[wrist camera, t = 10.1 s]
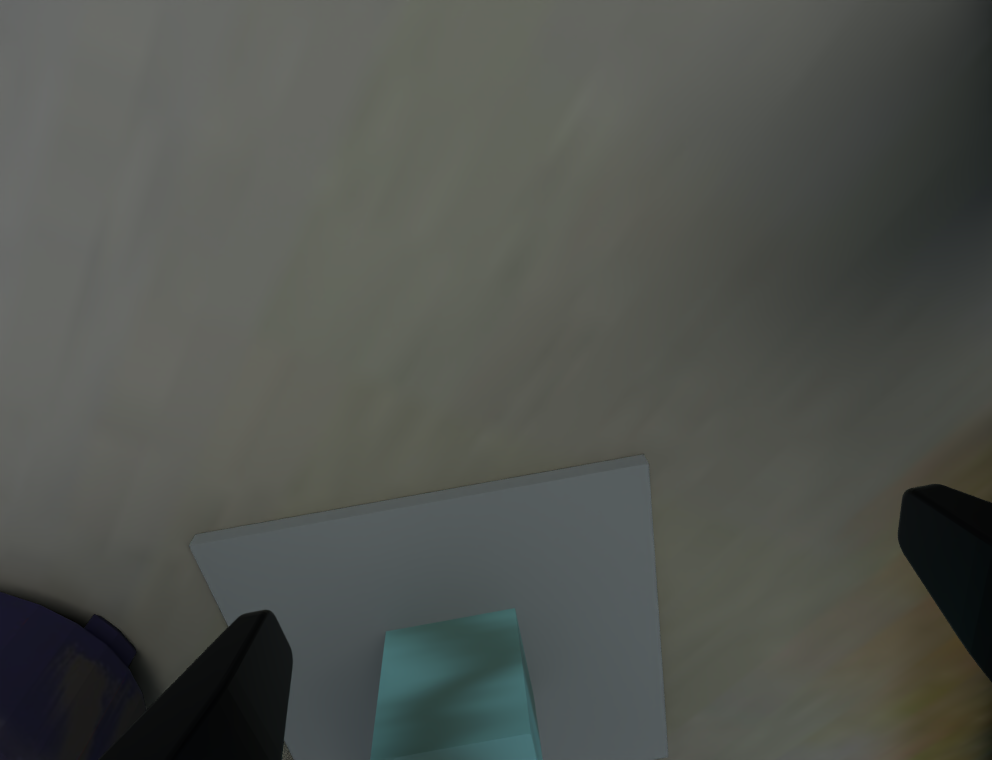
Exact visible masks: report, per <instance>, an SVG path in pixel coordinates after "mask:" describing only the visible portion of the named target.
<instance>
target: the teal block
mask: <svg viewBox="0 0 992 760" xmlns="http://www.w3.org/2000/svg"><path fill="white" fill-rule="evenodd" d="M370 760H543V758H542V751H541V744H540V737H539V730H538V723H537V715H536V708H535V701H534V695H533V690H532V685H531V681H530V676H529V671H528V667H527V662H526V657H525V652H524V648H523V643H522V638H521V634H520V629H519V624H518V620H517V615H516V610H515V608H512V609H507V610H501V611H496V612H490V613H485V614H479V615H474V616H468V617H463V618H457V619H452V620H446V621H441V622H435V623H430V624H424V625H419V626H413V627H408V628H402V629H397V630H391V631H386V635H385V643H384V651H383V659H382V667H381V675H380V684H379V692H378V700H377V708H376V716H375V724H374V732H373V741H372V749H371V757H370Z"/></svg>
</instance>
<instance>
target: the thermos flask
mask: <svg viewBox="0 0 992 760" xmlns="http://www.w3.org/2000/svg"><path fill="white" fill-rule="evenodd" d="M135 654H136V650H135V648H134V646H133V645H132V644H131V643H130V642H129V641H128V640H127V639H126V638H125V636H124V635H123V634H122V633H121V632H120V631H119V630H118V629H117V628H116V627H114V626H113V625H112V624H110V623H109V622H108V621H106V620H105V619H104V618H102V617H101V616H98V615H95V614H94V615H93V616H92V618H91V619H90V620H89V622H88V623H87V625H86V626H85V628H82V627H81V626H80V625H78V624H77V623H75V622H73V621H71V620H69V619H67V618H65V617H63V616H61V615H59V614H57V613H55V612H53V611H51V610H49V609H47V608H45V607H43V606H41V605H39V604H36V603H33V602H30V601H27V600H23V599H20V598H17V597H14V596H11V595H8V594H5V593H2V592H0V760H98V759H99V758H100V757H101V756H102V755H103V754H104V753H105V752H106V751H107V750H108V749H109V748H110V747H111V746H112V745H113V744H114V743H115V742H116V741H117V740H118V739H119V738H120V737H121V736H122V735H123V734H124V733H125V732H126V731H127V730H128V729H129V728H130V727H131V726H132V725H133V724H134V722H135V721H136V720H137V719H138V718H139V717H140V716H141V715H142V714H143V713H144V712H145V711H146V707H145V702H144V697H143V693H142V692H141V690H140V688H139V686H138V684H137V683H136V681H135V679H134V677H133V675H132V674H131V672H130V670H129V669H128V666H129V665H130V663H131V661H132V659H133V658H134V656H135Z"/></svg>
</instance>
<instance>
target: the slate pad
mask: <svg viewBox="0 0 992 760" xmlns="http://www.w3.org/2000/svg"><path fill="white" fill-rule="evenodd" d="M189 547H190V549H191V551H192V553H193V555H194V557H195V560H196V562H197V564H198V566H199V568H200V570H201V572H202V574H203V576H204V578H205V580H206V582H207V584H208V586H209V588H210V590H211V592H212V594H213V596H214V598H215V600H216V602H217V604H218V606H219V608H220V610H221V612H222V615H223V617H224V619H225V621H226V623H227V625H228V627H229V626H230V625H231V624H232V623H233V622H234V621H235V620H236V619H237V618H238V617H239V616H240V615H242V614H245V613H249V612H255V611H260V610H270V611H272V612H273V613H274V615H275V616H276V618H277V620H278V622H279V624H280V626H281V628H282V630H283V632H284V634H285V636H286V638H287V640H288V642H289V644H290V647H291V650H292V654H293V669H292V677H291V686H290V694H289V702H288V711H287V719H286V727H285V736H284V741H285V743H286V745H287V747H288V749H289V751H290V753H291V755H292V757H293V759H294V760H370V757H371V749H372V741H373V732H374V724H375V716H376V708H377V700H378V692H379V684H380V675H381V667H382V659H383V651H384V643H385V635H386V631H391V630H397V629H402V628H408V627H413V626H419V625H424V624H430V623H435V622H441V621H446V620H452V619H457V618H463V617H468V616H474V615H479V614H485V613H490V612H496V611H501V610H507V609H512V608H515V610H516V615H517V620H518V624H519V629H520V634H521V638H522V643H523V648H524V652H525V657H526V662H527V667H528V671H529V676H530V681H531V685H532V690H533V695H534V701H535V708H536V715H537V723H538V730H539V737H540V744H541V751H542V758H543V760H654V759H660V758H666V757H668V744H667V729H666V714H665V699H664V684H663V669H662V654H661V639H660V624H659V609H658V595H657V580H656V565H655V550H654V535H653V520H652V505H651V490H650V475H649V463H648V461H647V460H646V458H645V456H644V454H642V455H637V456H631V457H626V458H620V459H614V460H609V461H603V462H598V463H592V464H587V465H581V466H575V467H570V468H564V469H559V470H553V471H547V472H542V473H536V474H531V475H525V476H519V477H514V478H508V479H503V480H497V481H492V482H486V483H480V484H475V485H469V486H464V487H458V488H452V489H447V490H441V491H436V492H430V493H424V494H419V495H413V496H408V497H402V498H396V499H391V500H385V501H380V502H374V503H369V504H363V505H357V506H352V507H346V508H341V509H335V510H329V511H324V512H318V513H313V514H307V515H301V516H296V517H290V518H285V519H279V520H273V521H268V522H262V523H257V524H251V525H246V526H240V527H234V528H229V529H223V530H218V531H212V532H206V533H201V534H195V536H194V538H193V540H192V541H191V543H190V545H189Z"/></svg>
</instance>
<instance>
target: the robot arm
mask: <svg viewBox="0 0 992 760" xmlns="http://www.w3.org/2000/svg"><path fill="white" fill-rule="evenodd" d="M898 541H899V544H900V547H901V549H902V552H903V553H904V555H905V557H906V558H907V560H908V561H909V563H910V564H911V566H912V567H913V569H914V570H915V572H916V573H917V575H918V577H919V578H920V580H921V581H922V583H923V584H924V586H925V587H926V589H927V590H928V592H929V593H930V595H931V596H932V598H933V600H934V601H935V603H936V604H937V606H938V607H939V609H940V610H941V612H942V613H943V615H944V616H945V618H946V619H947V621H948V623H949V624H950V626H951V627H952V629H953V630H954V632H955V633H956V635H957V636H958V638H959V639H960V641H961V642H962V644H963V645H964V646H965V648H966V649H967V651H968V652H969V654H970V655H971V656H972V658H973V659H974V660H975V662H976V663H977V664H978V665H979V667H980V668H981V669H982V671H983V672H984V673H985V675H986V676H987V677H988V678H989V680H990V681H991V682H992V503H991V502H988V501H985V500H982V499H980V498H977V497H974V496H971V495H969V494H966V493H963V492H960V491H958V490H955V489H952V488H949V487H947V486H944V485H940V484H931V485H926V486H920V487H915V488H910V489H908V490H906V492H905V493H904V494H903V497H902V504H901V512H900V520H899V528H898ZM292 669H293V654H292V650H291V647H290V644H289V642H288V640H287V638H286V636H285V634H284V632H283V630H282V628H281V626H280V624H279V622H278V620H277V618H276V616H275V615H274V613H273V612H272V611H270V610H260V611H255V612H249V613H245V614H242V615H240V616H239V617H238V618H237V619H236V620H235V621H234V622H233V623H232V624H231V625H230V626H229V627H228V628H227V629H226V630H225V631H224V632H223V633H222V634H221V635H220V636H219V637H218V638H217V639H216V640H215V641H214V642H213V643H212V644H211V645H210V646H209V647H208V648H207V649H206V650H205V651H204V652H203V653H202V654H201V655H200V656H199V657H198V658H197V659H196V660H195V661H194V662H193V663H192V664H191V665H190V666H189V667H188V668H187V670H186V671H185V672H184V673H183V674H182V675H181V676H180V677H179V678H178V679H177V680H176V681H175V682H174V683H173V684H172V685H171V686H170V687H169V688H168V689H167V690H166V691H165V692H164V693H163V694H162V695H161V696H160V697H159V698H158V699H157V700H156V701H155V702H154V703H153V704H152V705H151V706H150V707H149V708H148V709H147V710H146V711H145V712H144V713H143V714H142V715H141V716H140V717H139V718H138V719H137V720H136V721H135V722H134V724H133V725H132V726H131V727H130V728H129V729H128V730H127V731H126V732H125V733H124V734H123V735H122V736H121V737H120V738H119V739H118V740H117V741H116V742H115V743H114V744H113V745H112V746H111V747H110V748H109V749H108V750H107V751H106V752H105V753H104V754H103V755H102V756H101V757H100V758H99V759H98V760H282V752H283V744H284V736H285V727H286V719H287V711H288V702H289V694H290V686H291V677H292Z"/></svg>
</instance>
